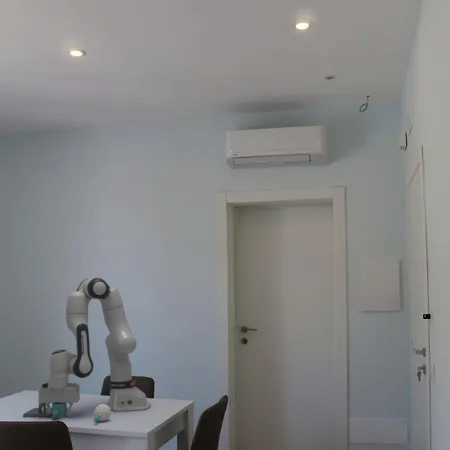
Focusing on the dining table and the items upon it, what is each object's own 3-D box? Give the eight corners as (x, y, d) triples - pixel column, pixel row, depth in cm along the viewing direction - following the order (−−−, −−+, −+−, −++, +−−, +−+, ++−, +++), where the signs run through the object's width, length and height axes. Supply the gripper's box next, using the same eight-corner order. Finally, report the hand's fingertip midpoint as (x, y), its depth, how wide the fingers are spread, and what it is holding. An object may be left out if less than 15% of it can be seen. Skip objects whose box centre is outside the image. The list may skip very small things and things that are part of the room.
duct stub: (60, 410, 307) (60, 387, 308) (50, 416, 293) (50, 393, 294) (34, 410, 308) (34, 388, 309) (23, 417, 294) (23, 393, 295)
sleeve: (55, 415, 295) (55, 401, 296) (67, 415, 295) (67, 401, 295) (48, 420, 286) (48, 405, 286) (61, 420, 285) (61, 405, 286)
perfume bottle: (116, 411, 285) (107, 420, 273) (104, 421, 286) (94, 430, 275) (107, 398, 286) (97, 407, 274) (94, 408, 287) (84, 417, 275)
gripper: (81, 381, 295) (81, 410, 294) (42, 382, 297) (42, 410, 296) (77, 384, 289) (77, 413, 288) (37, 384, 291) (37, 413, 290)
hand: (59, 411), depth 292 cm, fingers open, 8 cm apart
